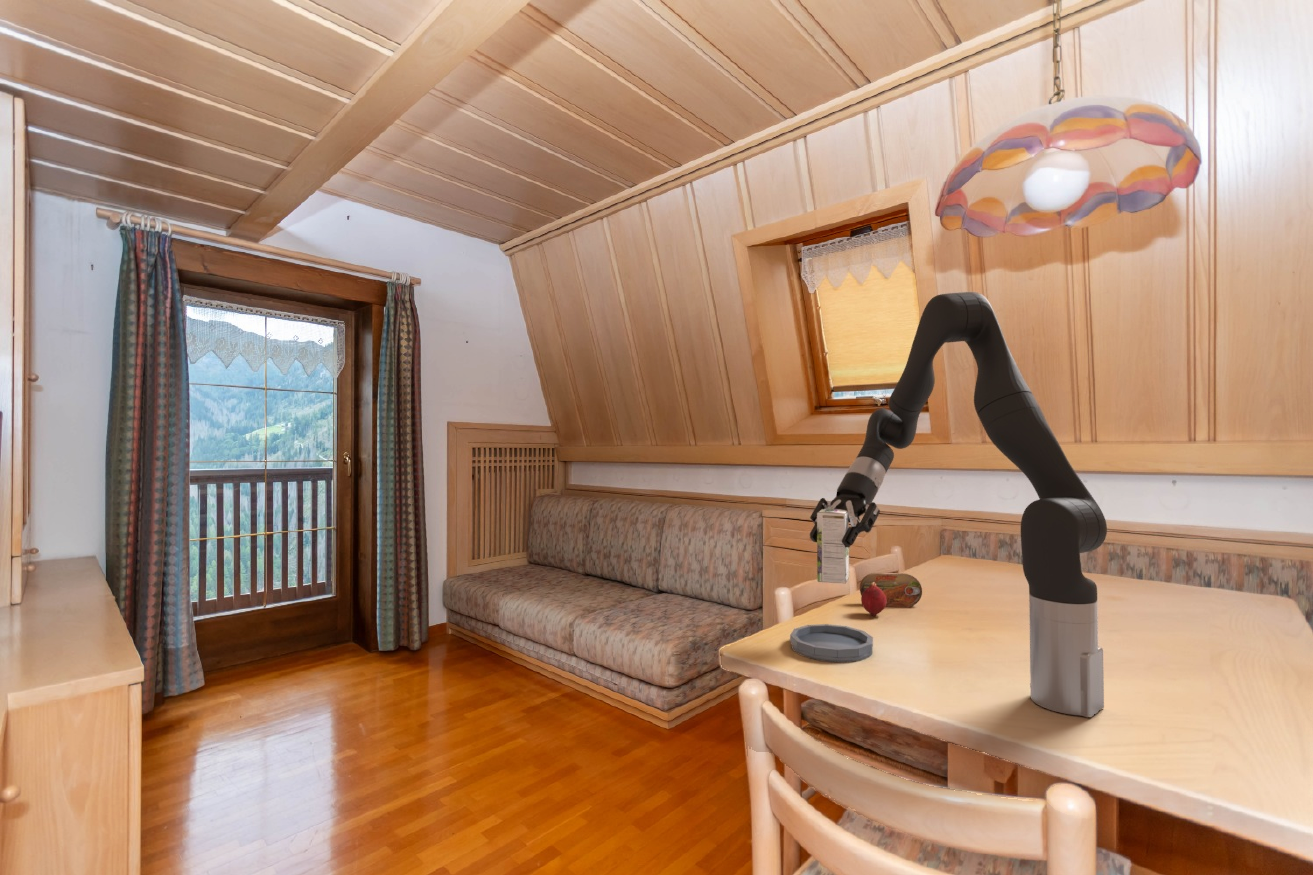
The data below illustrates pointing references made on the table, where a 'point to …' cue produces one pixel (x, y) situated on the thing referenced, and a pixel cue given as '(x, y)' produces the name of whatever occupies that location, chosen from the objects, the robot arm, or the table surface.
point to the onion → (873, 599)
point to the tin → (895, 588)
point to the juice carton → (832, 546)
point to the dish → (831, 643)
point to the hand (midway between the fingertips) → (828, 542)
